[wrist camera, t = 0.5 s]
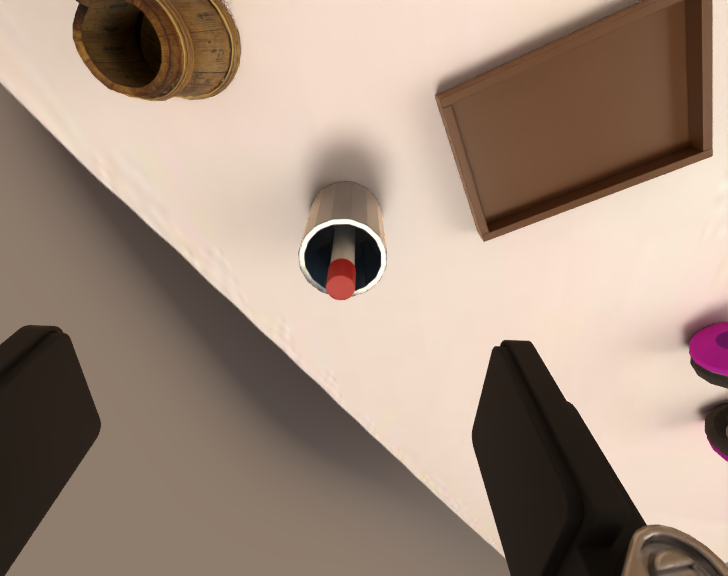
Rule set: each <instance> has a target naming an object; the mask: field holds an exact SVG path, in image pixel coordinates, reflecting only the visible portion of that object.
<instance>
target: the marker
mask: <svg viewBox="0 0 728 576" xmlns="http://www.w3.org/2000/svg"><path fill="white" fill-rule="evenodd" d="M355 278H356V269H355V226H353V225H350V224H335V231H334V239H333V247H332V255H331V263H330V265H329V269H328V276H327V284H326V290H327V293H328V294H329V295H330V296H331V297H332V298H334V299H337V300H345V299H348V298H350V297H351V296H352V295H353V294H354V292H355Z"/></svg>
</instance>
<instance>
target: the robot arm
mask: <svg viewBox="0 0 728 576" xmlns="http://www.w3.org/2000/svg"><path fill="white" fill-rule="evenodd" d="M100 428H101V421H100V418H99V415H98V413H97V410H96V407H95V404H94V401H93V399H92V396H91V393H90V391H89V388H88V385H87V383H86V380H85V377H84V374H83V372H82V369H81V366H80V363H79V361H78V358H77V356H76V353H75V350H74V347H73V344H72V342H71V339H70V337H69V336H68V335H67V334H65V333H63V332H62V330H61V329H60V328H59V327H56V326H38V325H37V326H36V325H28V326H24V327H22V328H20V329H19V330H18V331H17V332H15V333H14V334H13V335H12V336H10V337H9V338H8V339H7V340H5V342H3V343H2V344H1V345H0V576H5V574H6V573H7V571H8V570H9V568H10V567H11V565H12V564H13V562H14V561H15V559H16V558H17V556H18V555H19V554H20V552H21V551H22V549H23V547H24V546H25V545H26V543H27V541H28V540H29V539H30V537H31V536H32V534H33V532H34V531H35V530H36V528H37V527H38V525H39V523H40V522H41V520H42V519H43V518H44V516H45V515H46V513H47V512H48V510H49V508H50V507H51V506H52V504H53V503H54V501H55V500H56V498H57V497H58V495H59V494H60V492H61V491H62V489H63V488H64V486H65V485H66V483H67V482H68V480H69V479H70V477H71V476H72V474H73V473H74V471H75V470H76V468H77V467H78V465H79V464H80V462H81V461H82V459H83V458H84V456H85V455H86V453H87V452H88V450H89V449H90V447H91V446H92V445H93V443H94V441H95V440H96V439H97V437H98V435H99V432H100ZM472 442H473V447H474V451H475V454H476V457H477V461H478V464H479V468H480V471H481V475H482V478H483V481H484V485H485V488H486V492H487V495H488V499H489V502H490V506H491V509H492V512H493V516H494V519H495V523H496V526H497V530H498V533H499V536H500V540H501V543H502V547H503V550H504V554H505V557H506V560H507V564H508V567H509V571H510V574H511V576H728V567H727V566H726V565H725V563H724V562H723V561H722V560H721V559H720V558H719V557H718V556H717V555H715V554H714V553H713V552H712V551H711V550H710V549H709V548H708V547H707V546H705V545H704V544H702V543H701V542H699V541H698V540H696V539H695V538H693V537H692V536H690V535H688V534H686V533H684V532H681V531H679V530H677V529H675V528H672V527H667V526H663V525H646V523H645V521H644V520H643V518H642V517H641V515H640V513H639V512H638V510H637V508H636V507H635V505H634V503H633V502H632V500H631V498H630V497H629V495H628V493H627V492H626V490H625V488H624V487H623V485H622V484H621V482H620V480H619V479H618V477H617V475H616V474H615V472H614V470H613V469H612V467H611V465H610V464H609V462H608V460H607V459H606V457H605V456H604V454H603V452H602V451H601V449H600V447H599V446H598V444H597V442H596V441H595V439H594V437H593V436H592V434H591V432H590V431H589V429H588V427H587V426H586V424H585V423H584V421H583V419H582V418H581V416H580V414H579V413H578V411H577V410H576V408H575V407H574V406H573V404H571V403H569V402H568V401H566V399H565V398H564V396H563V394H562V393H561V391H560V389H559V388H558V386H557V384H556V382H555V381H554V379H553V377H552V376H551V374H550V372H549V371H548V369H547V367H546V366H545V364H544V362H543V361H542V359H541V357H540V355H539V354H538V352H537V350H536V349H535V347H534V345H533V344H532V343H531V342H530V341H516V340H504V341H502V343H501V345H500V346H495V347H494V348H493V350H492V353H491V357H490V361H489V365H488V369H487V373H486V377H485V381H484V385H483V389H482V393H481V397H480V401H479V405H478V409H477V413H476V417H475V421H474V425H473V429H472Z"/></svg>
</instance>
